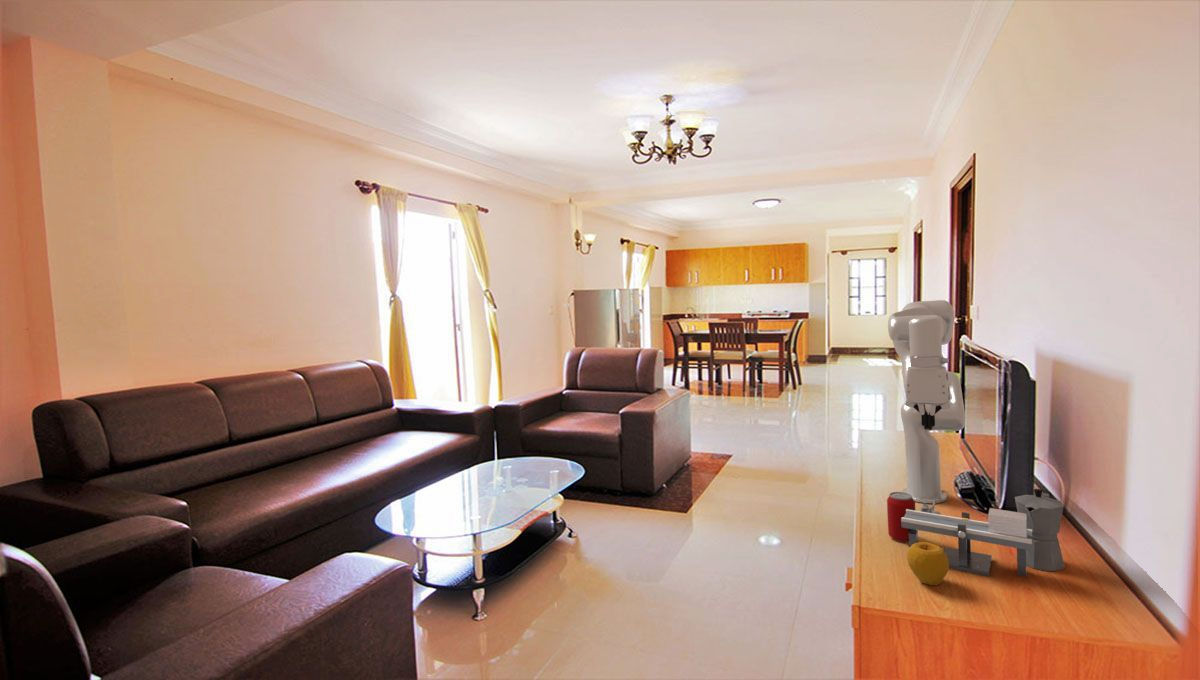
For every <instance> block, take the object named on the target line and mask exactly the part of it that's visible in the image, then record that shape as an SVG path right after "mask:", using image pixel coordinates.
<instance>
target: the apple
mask: <svg viewBox="0 0 1200 680" xmlns="http://www.w3.org/2000/svg"><path fill="white" fill-rule="evenodd" d="M906 560H907V563H908V566H909V568H910V571H912V573H913V574H914V576H915V577H916V578H917V579H918V581H920V582H921V583H923V584H927V585H930V586H938V585H939V584H940V583H942V582H943V580H944V578H946V576H947V574H948V572H949V569H950V568H949V560H948V557H947V555H946V553H945V552H944V550H943V547H940V546H938V545H936V544H934V543H931V542H927V541H918V543H915V544H913V545H912V546H911V547H910V548H909V547H908V549H907V552H906Z"/></svg>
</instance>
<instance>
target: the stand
mask: <svg viewBox="0 0 1200 680" xmlns="http://www.w3.org/2000/svg"><path fill="white" fill-rule="evenodd" d="M970 513H971V512H966V511H965V512H964V511H961V518H968V519H970V520H971V518H970V516H971V515H970ZM957 539H958V540H957V543H958V545H957V546H958V548H955V547H954V548H953V547H949V546H943V547H942V549H943V550H944V552H945V553H946V555H947V557H948V560H949V569H950V570H951V569H952V570H955V571H961V572H965V573H969V574H975V575H980V576H985V577H990V571H991V566H992V561H993V558H992V556H993V555H992V554H987V553H979V552H976V551H972V544H971V543H972V540H970V539H967V537H966V525H962V524H958V537H957ZM918 542H919V530H913V529H911V530H910V532H909V542H908V549H909V548H910V547H911V546H912V545H913V544H915V543H918ZM991 560H992V561H991ZM1016 564H1017V565H1016V566H1017V568H1016V569H1017V570H1016V571H1017V573H1016V574H1017V576H1018V577H1023V578H1027V566H1026V550H1025V549H1020V548H1016Z"/></svg>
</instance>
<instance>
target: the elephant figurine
mask: <svg viewBox="0 0 1200 680" xmlns="http://www.w3.org/2000/svg"><path fill="white" fill-rule="evenodd" d="M936 504H937V503H936V499H935V501H934V502H933V503H932V505H930V506H929V505H928V504H927V503H922V506H921V507H920V509H919V511H921V512H927V513H933V514H939V515H942V514H941V513H940V511H938V510H936V511H935V505H936Z"/></svg>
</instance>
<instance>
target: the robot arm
mask: <svg viewBox="0 0 1200 680" xmlns="http://www.w3.org/2000/svg"><path fill="white" fill-rule="evenodd" d="M901 309H902V310H901V311H897V312H894V313H892V314H890V316H889V318H888V321H887V332H888V336H889V338H890V341H892V344H893V347H894V350H895V352H896V355H897V356H898V358H899V359H900V362H901V367H902V379H903V390H904V393H905V402H904V403H903V404H902V405H901V407H900V417H901V418H900V419H901V421H902V422H901V423H902V426H903V434H904V446H905V448H904V449H905V450H904V451H905V469H906V474H905V475H906V488H903V489H902V490H901V492H904V493H908V494H910V495H911V496H912V498H913V500H914V501H915V503H916V502H917V503H920V504H921V503H922V504H924V503H925V504H933V502H934V501H935V499H936V504H940V503H943V502H946V501H947V500H948V495H947V493H945V492H944V491H942V485H941V459H940V458H941V455H940V445H939V442H938V439H937V438H936V437H935V436H934V435H933V434H932V433H930V432H931V431H932V432H933V431H940V432H941V431H943V432H946V431H947V432H957V431H958V432H959V431H962V430H963V429H964V428H965V425H966V412H965V406H964V399H963V392H962V386H961V380H960V377H959V376H958V375H957V374H956V373H955V372H952V371H948V370H947V367H946V366H943V365H945V364H949V357H946V358H945V357H944V356H943V354H942V353H943V351H942V347H943V346H942V345H946V344H949V343H950V341H951V340H952V336H953V329H954V323H955V312H954V307H953V305H952V304H951V303H950V302H949V301H947V300H945V299H944V300H943V299H940V300H938V299H937V300H921V301H913V302H909V303H907V304H906V305H904V307H903V308H901Z"/></svg>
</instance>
